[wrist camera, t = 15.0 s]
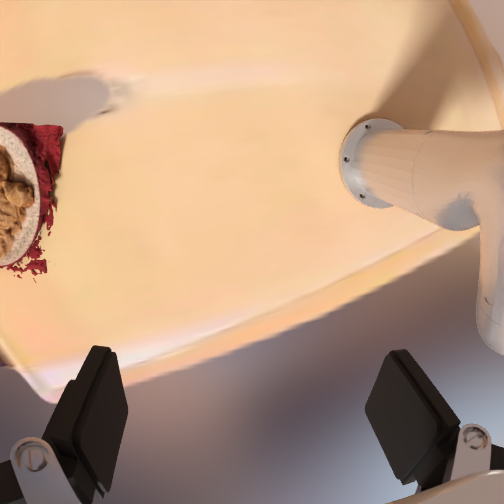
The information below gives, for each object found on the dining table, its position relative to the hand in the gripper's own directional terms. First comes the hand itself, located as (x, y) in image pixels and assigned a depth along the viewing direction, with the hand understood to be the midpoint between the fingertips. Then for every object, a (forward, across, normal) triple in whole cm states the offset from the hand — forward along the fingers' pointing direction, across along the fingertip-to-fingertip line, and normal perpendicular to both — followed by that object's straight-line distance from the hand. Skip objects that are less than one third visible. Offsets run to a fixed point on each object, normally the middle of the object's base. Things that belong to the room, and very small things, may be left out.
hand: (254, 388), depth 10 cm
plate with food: (+34, +38, 0) cm, 51 cm away
